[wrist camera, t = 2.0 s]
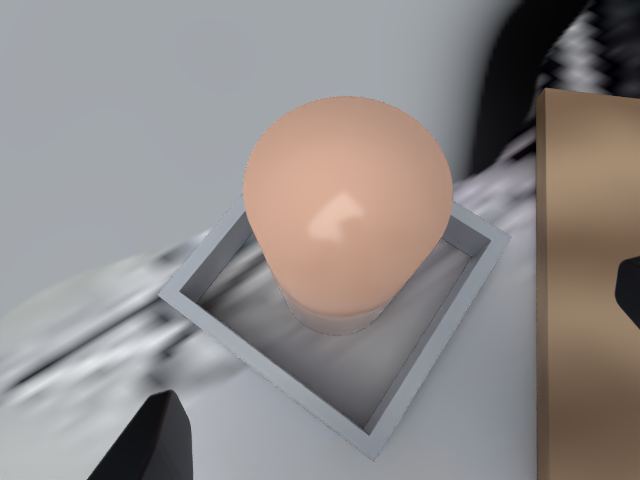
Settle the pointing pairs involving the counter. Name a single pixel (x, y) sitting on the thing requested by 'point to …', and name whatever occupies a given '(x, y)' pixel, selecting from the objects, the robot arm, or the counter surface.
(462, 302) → the grey box
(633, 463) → the walnut board
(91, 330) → the counter surface
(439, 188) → the pink tall rounded piece
